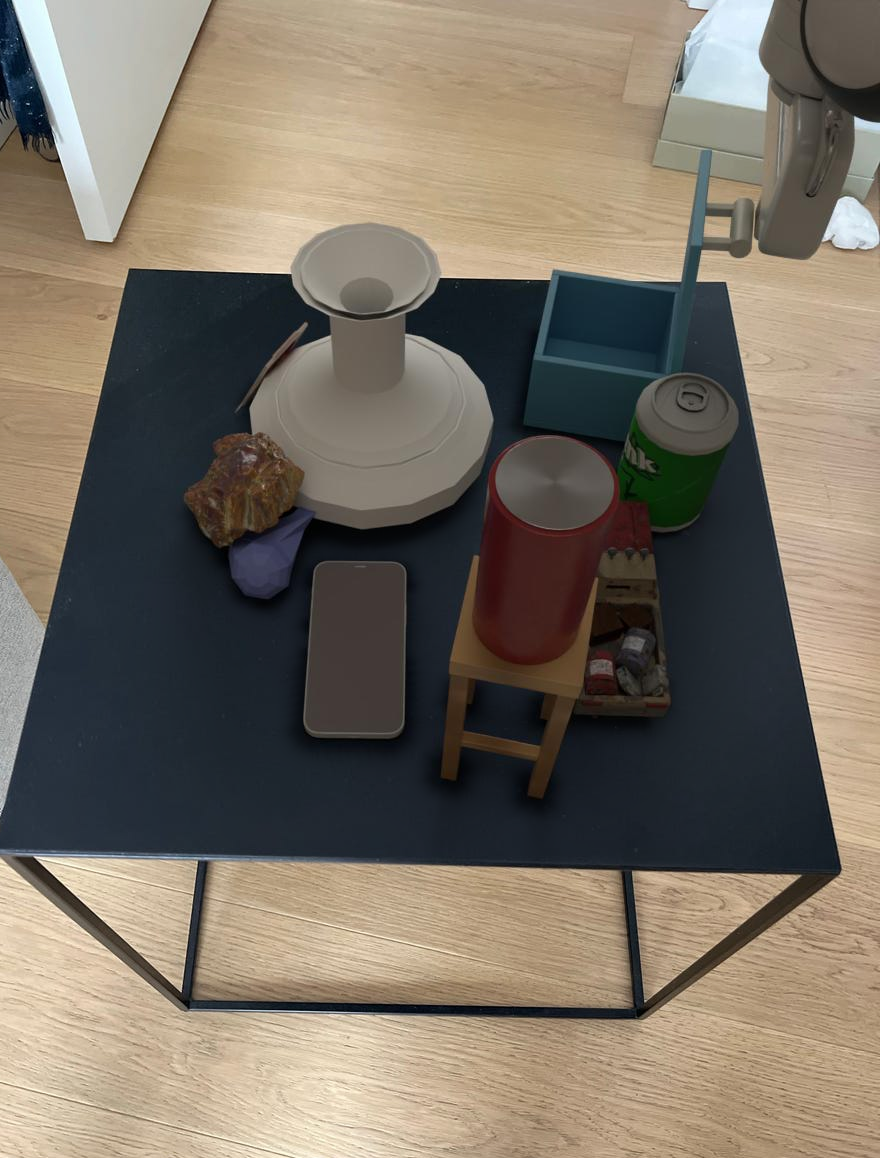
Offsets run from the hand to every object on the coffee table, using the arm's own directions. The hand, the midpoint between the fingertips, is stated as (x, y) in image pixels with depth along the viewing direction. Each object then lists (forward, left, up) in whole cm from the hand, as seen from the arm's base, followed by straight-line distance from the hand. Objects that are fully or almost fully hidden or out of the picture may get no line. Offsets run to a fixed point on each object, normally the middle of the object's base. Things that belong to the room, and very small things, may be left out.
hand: (764, 229), depth 73 cm
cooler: (+9, 0, -18) cm, 21 cm away
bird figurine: (+32, +28, -13) cm, 44 cm away
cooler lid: (+5, 0, -4) cm, 6 cm away
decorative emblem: (+35, +4, -12) cm, 37 cm away
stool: (+12, +37, -18) cm, 43 cm away
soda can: (+3, +12, -18) cm, 22 cm away
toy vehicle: (+6, +25, -18) cm, 32 cm away
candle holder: (+27, +12, -18) cm, 35 cm away
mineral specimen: (+37, +21, -10) cm, 44 cm away
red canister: (+12, +37, -1) cm, 39 cm away
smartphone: (+24, +31, -18) cm, 43 cm away
